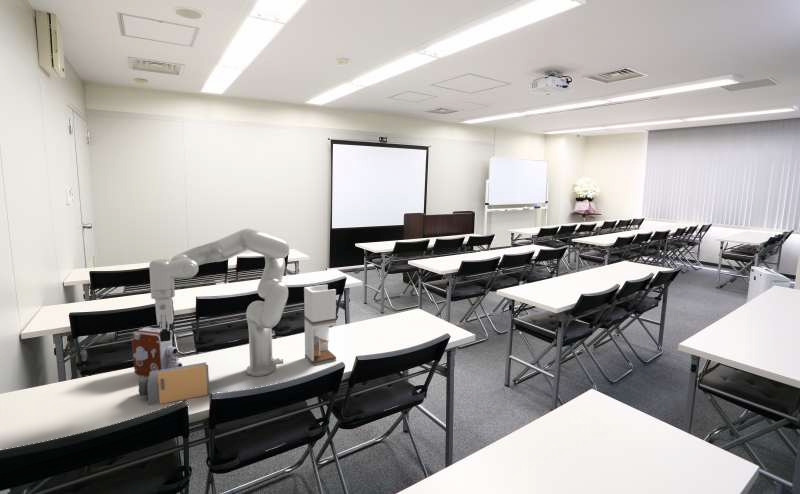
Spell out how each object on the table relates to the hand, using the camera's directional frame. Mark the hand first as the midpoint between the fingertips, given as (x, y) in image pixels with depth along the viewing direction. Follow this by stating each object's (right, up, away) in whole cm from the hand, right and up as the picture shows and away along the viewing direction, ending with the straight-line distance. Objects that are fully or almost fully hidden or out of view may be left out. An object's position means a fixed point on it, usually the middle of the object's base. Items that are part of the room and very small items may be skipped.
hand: (165, 340), depth 149 cm
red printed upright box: (-16, -20, +23) cm, 34 cm away
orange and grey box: (-1, -23, +8) cm, 24 cm away
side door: (+6, -23, +4) cm, 24 cm away
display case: (+50, -19, +41) cm, 67 cm away
